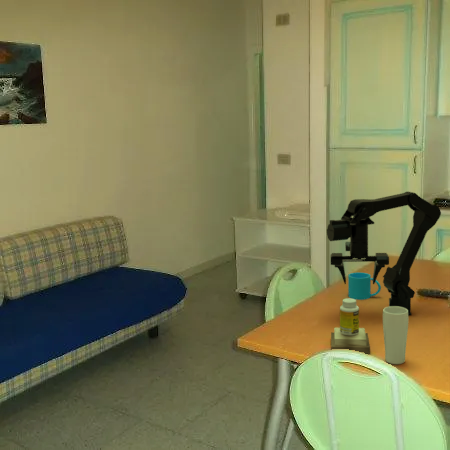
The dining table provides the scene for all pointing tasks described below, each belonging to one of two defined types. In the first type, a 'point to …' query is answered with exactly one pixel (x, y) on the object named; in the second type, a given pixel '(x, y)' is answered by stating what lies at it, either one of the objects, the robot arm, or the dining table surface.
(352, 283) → the mug
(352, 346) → the stand
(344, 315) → the supplement bottle
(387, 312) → the drinking glass
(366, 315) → the dining table surface
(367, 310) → the dining table surface
